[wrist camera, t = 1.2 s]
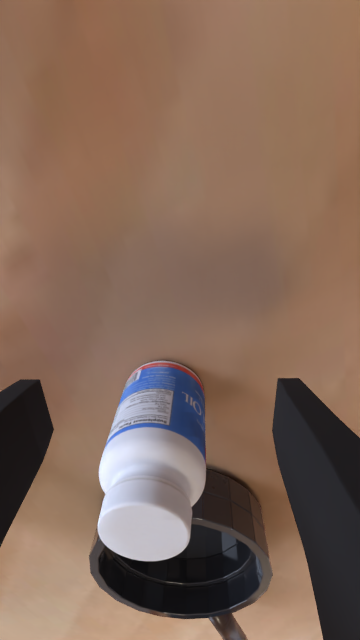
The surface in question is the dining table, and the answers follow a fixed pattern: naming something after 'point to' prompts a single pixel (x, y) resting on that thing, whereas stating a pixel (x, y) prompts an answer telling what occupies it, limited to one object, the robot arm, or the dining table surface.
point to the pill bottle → (154, 463)
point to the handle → (228, 627)
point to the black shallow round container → (197, 560)
